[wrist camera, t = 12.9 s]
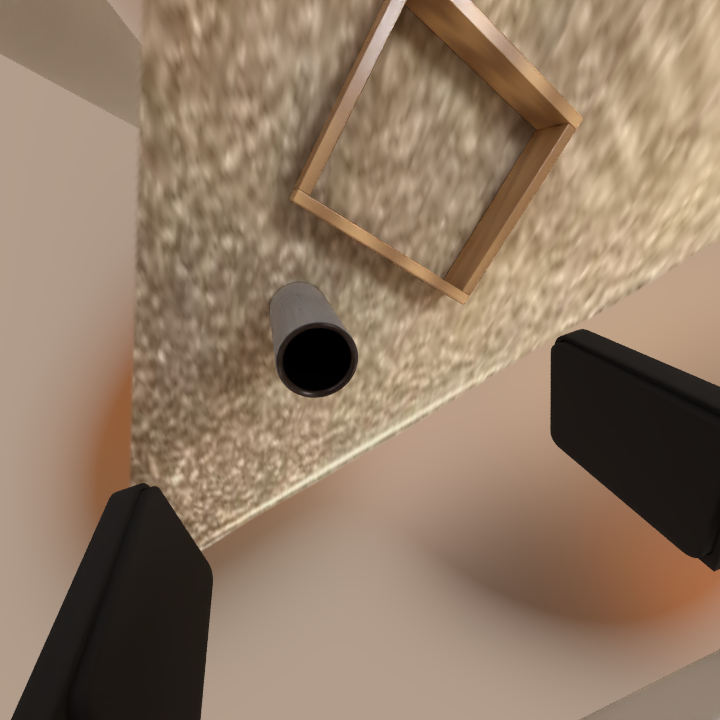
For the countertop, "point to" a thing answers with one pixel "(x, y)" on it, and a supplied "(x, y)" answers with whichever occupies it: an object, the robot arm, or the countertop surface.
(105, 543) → the robot arm
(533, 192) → the wooden square frame
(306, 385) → the planter
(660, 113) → the countertop surface
